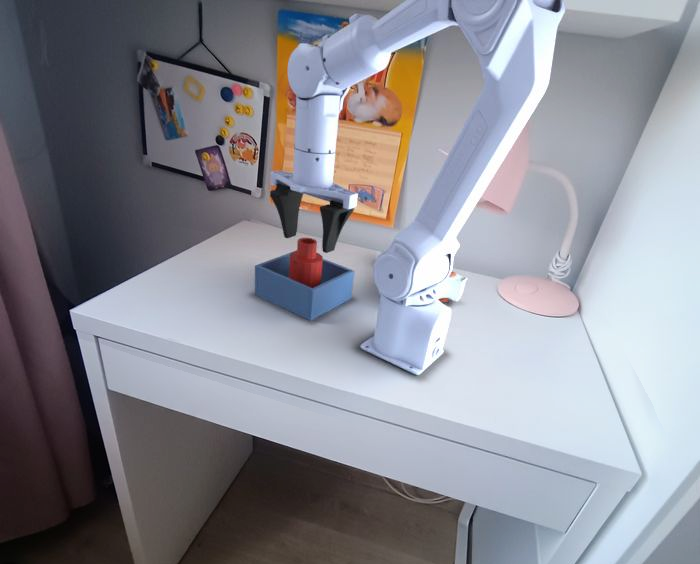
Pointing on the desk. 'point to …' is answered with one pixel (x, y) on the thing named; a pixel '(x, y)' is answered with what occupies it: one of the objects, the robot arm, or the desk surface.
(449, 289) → the tape dispenser
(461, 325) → the desk surface
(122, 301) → the desk surface
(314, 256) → the bottle
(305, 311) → the tub
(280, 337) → the desk surface
